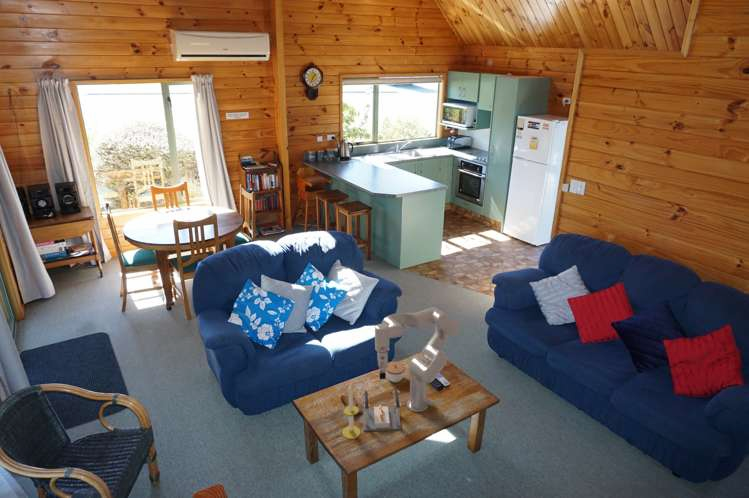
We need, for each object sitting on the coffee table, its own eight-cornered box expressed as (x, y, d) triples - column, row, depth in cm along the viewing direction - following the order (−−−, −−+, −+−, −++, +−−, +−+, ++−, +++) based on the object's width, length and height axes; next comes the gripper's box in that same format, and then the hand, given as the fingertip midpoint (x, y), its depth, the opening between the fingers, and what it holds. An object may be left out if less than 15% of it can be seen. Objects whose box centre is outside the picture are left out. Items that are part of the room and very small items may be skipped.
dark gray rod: (397, 391, 291) (397, 389, 290) (399, 408, 277) (399, 405, 277) (394, 391, 291) (394, 389, 290) (396, 408, 277) (396, 406, 277)
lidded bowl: (384, 373, 330) (384, 359, 326) (403, 372, 331) (403, 358, 327) (386, 385, 318) (386, 371, 314) (406, 384, 320) (406, 369, 315)
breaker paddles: (382, 409, 291) (380, 404, 290) (383, 419, 283) (381, 414, 282) (380, 409, 291) (378, 405, 290) (380, 419, 283) (379, 415, 282)
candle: (346, 441, 274) (344, 391, 262) (339, 429, 282) (338, 380, 270) (363, 435, 278) (362, 386, 266) (356, 424, 286) (355, 375, 274)
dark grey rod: (367, 392, 290) (367, 390, 290) (368, 409, 277) (368, 407, 276) (364, 392, 290) (364, 390, 290) (365, 409, 277) (365, 407, 276)
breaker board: (398, 410, 297) (398, 388, 291) (401, 429, 282) (401, 407, 276) (363, 411, 296) (362, 389, 290) (363, 431, 281) (363, 408, 275)
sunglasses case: (365, 413, 294) (360, 407, 291) (356, 421, 293) (350, 415, 290) (353, 395, 309) (348, 389, 306) (344, 403, 308) (338, 397, 305)
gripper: (390, 355, 263) (390, 382, 269) (387, 337, 279) (387, 363, 285) (375, 355, 263) (375, 383, 269) (374, 337, 279) (374, 364, 285)
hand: (382, 373), depth 277 cm, fingers open, 9 cm apart
